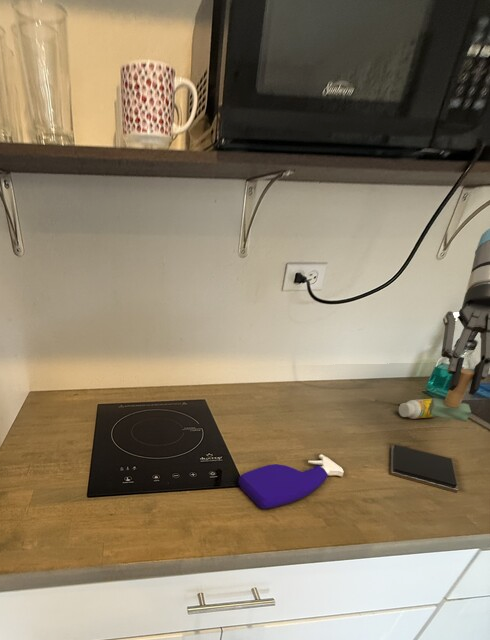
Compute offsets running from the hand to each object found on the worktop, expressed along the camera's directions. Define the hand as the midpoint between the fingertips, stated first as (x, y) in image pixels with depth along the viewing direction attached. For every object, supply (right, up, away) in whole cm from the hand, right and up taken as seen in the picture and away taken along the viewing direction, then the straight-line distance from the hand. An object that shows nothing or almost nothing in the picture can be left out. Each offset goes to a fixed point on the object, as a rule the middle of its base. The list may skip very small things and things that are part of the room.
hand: (463, 389), depth 81 cm
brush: (+2, -5, +7) cm, 9 cm away
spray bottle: (-34, -20, +4) cm, 40 cm away
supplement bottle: (+15, -2, +30) cm, 34 cm away
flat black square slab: (-3, -18, +9) cm, 20 cm away
